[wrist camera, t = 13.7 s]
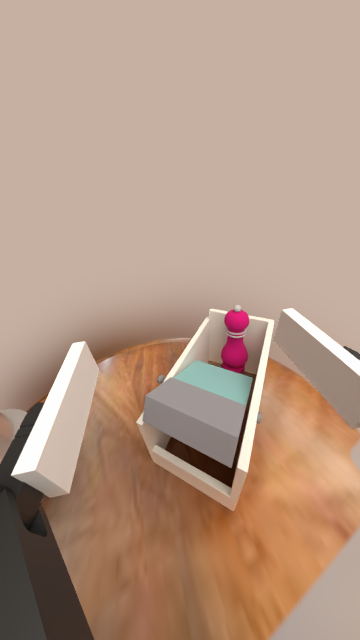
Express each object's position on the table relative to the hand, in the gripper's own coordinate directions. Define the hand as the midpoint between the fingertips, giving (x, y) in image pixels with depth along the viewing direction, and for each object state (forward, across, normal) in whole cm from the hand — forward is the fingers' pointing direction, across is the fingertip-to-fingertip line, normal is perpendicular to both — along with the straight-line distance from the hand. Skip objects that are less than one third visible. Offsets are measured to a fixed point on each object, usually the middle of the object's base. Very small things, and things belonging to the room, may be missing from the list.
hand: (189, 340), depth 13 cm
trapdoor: (+10, +4, -26) cm, 28 cm away
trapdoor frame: (+16, +9, -40) cm, 44 cm away
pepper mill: (+25, +16, -35) cm, 46 cm away
